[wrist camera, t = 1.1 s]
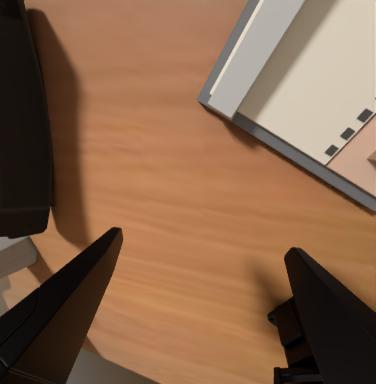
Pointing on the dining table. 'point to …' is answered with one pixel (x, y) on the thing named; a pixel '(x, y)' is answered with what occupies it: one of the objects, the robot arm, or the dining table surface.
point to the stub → (358, 159)
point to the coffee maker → (16, 254)
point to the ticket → (317, 78)
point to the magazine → (22, 129)
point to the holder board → (272, 137)
